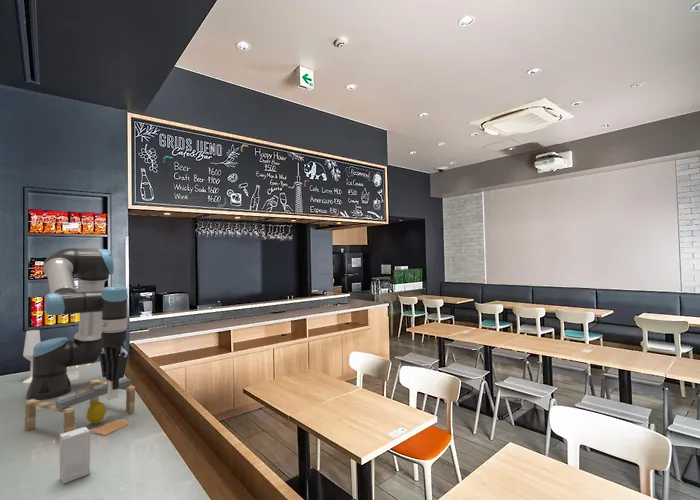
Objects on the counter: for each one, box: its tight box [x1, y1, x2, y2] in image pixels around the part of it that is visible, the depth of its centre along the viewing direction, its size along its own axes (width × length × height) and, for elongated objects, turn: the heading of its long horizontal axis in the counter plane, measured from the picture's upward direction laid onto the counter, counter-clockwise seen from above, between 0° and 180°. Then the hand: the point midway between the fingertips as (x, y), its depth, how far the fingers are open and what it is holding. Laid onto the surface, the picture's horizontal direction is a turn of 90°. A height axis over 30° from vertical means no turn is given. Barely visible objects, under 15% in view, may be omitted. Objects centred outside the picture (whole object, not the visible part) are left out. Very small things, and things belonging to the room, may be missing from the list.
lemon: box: [86, 400, 107, 425], centre depth 130 cm, size 6×6×8 cm
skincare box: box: [59, 426, 91, 484], centre depth 99 cm, size 6×4×12 cm
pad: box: [90, 418, 133, 436], centre depth 127 cm, size 7×10×1 cm
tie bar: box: [55, 378, 133, 409], centre depth 130 cm, size 3×25×3 cm, turn 160°
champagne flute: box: [22, 329, 41, 384], centre depth 176 cm, size 7×7×24 cm
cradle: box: [24, 379, 136, 433], centre depth 133 cm, size 22×24×10 cm
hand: (112, 398), depth 128 cm, fingers closed
